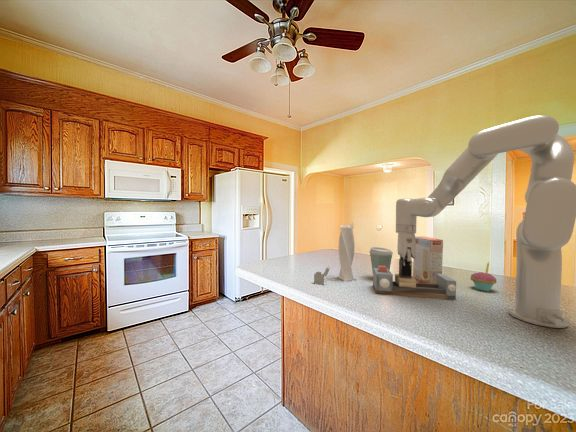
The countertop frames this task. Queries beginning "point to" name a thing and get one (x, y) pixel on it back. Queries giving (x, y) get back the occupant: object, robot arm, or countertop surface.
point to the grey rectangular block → (446, 284)
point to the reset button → (382, 268)
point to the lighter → (320, 276)
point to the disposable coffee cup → (380, 257)
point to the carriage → (404, 277)
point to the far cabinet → (383, 280)
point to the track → (418, 291)
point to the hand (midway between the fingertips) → (405, 273)
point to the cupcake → (483, 280)
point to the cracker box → (427, 259)
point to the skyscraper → (346, 252)
